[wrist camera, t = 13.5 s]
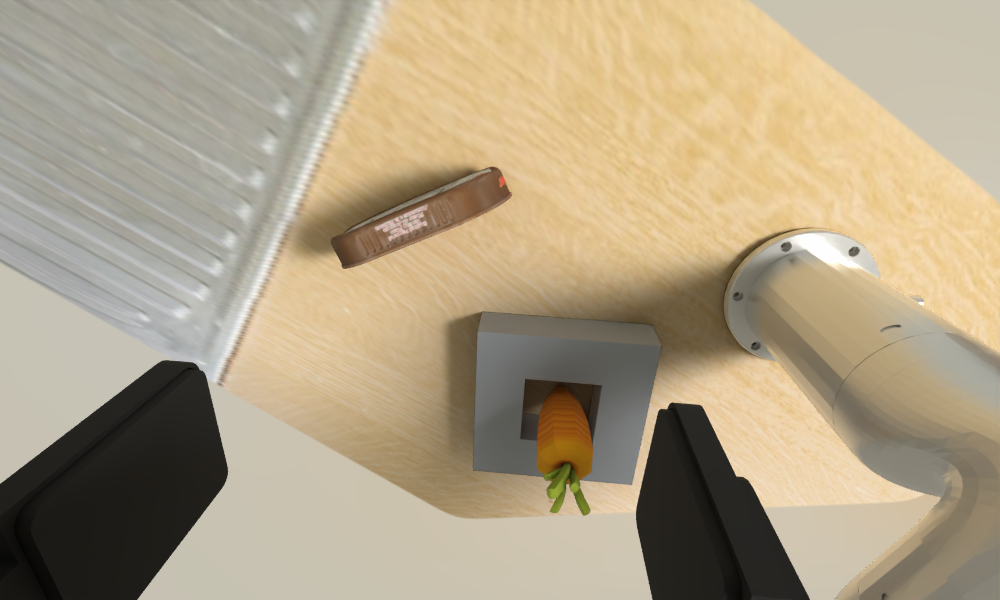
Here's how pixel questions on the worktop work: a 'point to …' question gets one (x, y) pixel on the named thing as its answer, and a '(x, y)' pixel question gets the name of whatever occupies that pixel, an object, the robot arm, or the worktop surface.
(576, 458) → the carrot
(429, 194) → the tin
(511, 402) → the socket block
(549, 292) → the worktop surface
